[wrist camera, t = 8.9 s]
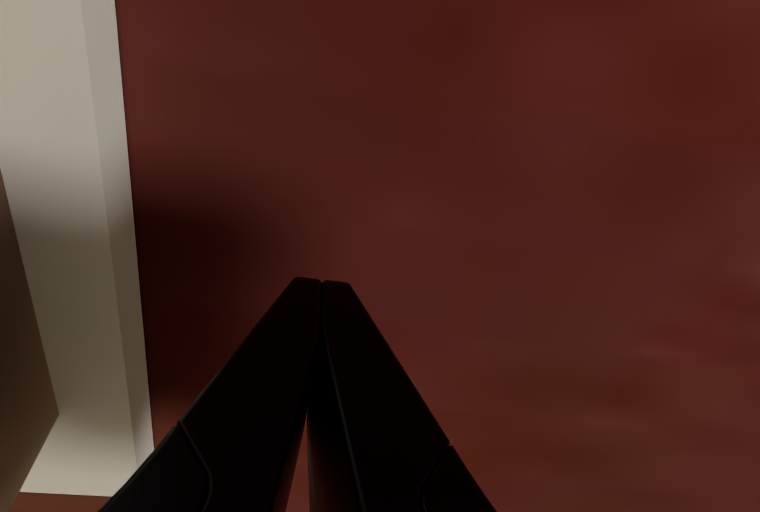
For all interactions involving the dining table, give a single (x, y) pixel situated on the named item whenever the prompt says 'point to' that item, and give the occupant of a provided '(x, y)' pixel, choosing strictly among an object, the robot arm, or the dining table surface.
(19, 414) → the frame
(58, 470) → the wall board
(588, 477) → the dining table surface
